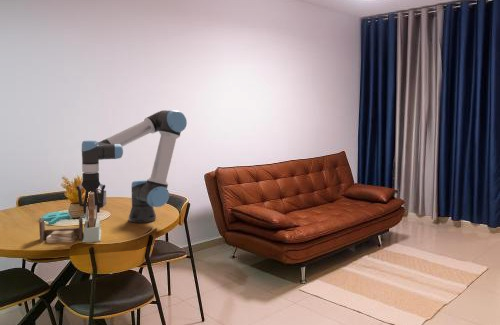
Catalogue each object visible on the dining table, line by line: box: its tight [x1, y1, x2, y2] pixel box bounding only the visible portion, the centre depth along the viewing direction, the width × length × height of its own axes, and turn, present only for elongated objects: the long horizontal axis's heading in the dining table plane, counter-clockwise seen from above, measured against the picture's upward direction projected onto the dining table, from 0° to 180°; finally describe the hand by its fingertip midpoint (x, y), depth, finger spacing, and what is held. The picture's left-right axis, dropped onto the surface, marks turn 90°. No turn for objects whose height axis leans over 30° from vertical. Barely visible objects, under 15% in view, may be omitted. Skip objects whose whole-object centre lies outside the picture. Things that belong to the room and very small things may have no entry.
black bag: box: [86, 187, 107, 208], centre depth 260 cm, size 16×11×18 cm
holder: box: [81, 217, 102, 243], centre depth 197 cm, size 8×19×7 cm, turn 19°
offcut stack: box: [46, 231, 77, 244], centre depth 190 cm, size 12×5×4 cm, turn 98°
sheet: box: [88, 192, 96, 228], centre depth 197 cm, size 15×2×20 cm, turn 19°
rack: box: [38, 216, 84, 244], centre depth 192 cm, size 18×8×10 cm, turn 109°
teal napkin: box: [39, 211, 86, 226], centre depth 230 cm, size 20×2×20 cm
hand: (91, 219), depth 197 cm, fingers open, 3 cm apart
